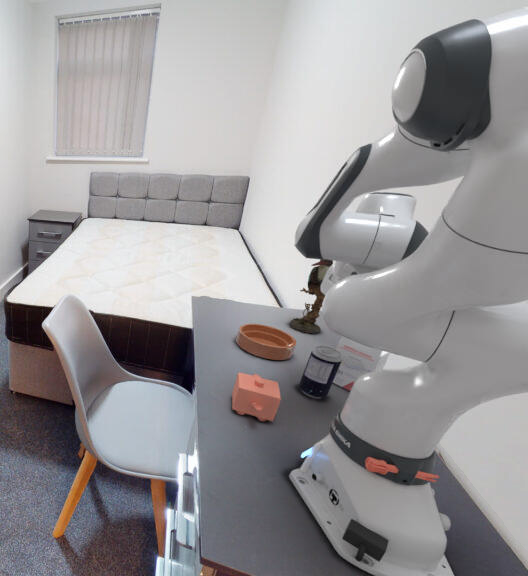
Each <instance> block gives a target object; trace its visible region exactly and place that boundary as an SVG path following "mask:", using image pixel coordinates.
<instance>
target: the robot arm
mask: <svg viewBox="0 0 528 576" xmlns="http://www.w3.org/2000/svg"><path fill="white" fill-rule="evenodd" d="M390 95H391V97H390V98H391V99H390V101H391V110H392V115H393V118H394V121H395V122H396V123H395V125H393V127H392V128H391V129H390V130H389V131H387V132H386V133H385V134H384V135H382V136H381V137H379V138H378V139H376V140H375V141H373V142H371V143H367V144H365V145H362V146H359V147H358V148H357V149H356V150H355V151H354V152H353V153H352V154H351V155H350V156H349V157H348V158H347V160H346V161H345V162H344V163H343V165H342V167H340V168H339V170H338V172H337V173H336V175H335V176H334V177H333V179H332V180H331V181H330V183H329V184H328V186H327V187H326V189H325V190H324V191H323V193H322V194H321V196H320V197H319V198H318V200H317V202H316V203H315V204H314V206H313V207H312V208H311V209H310V211H308V212H307V214H306V215H305V216H304V218H302V220H301V221H300V222H299V224H298V226H297V228H296V231H295V233H294V247H295V249H296V250H297V251H298V252H299V254H301V255H302V256H303V257H304V258H305V259H309V260H311V259H313V260H320V259H321V260H325V259H327V260H333V262H334V263H333V264H332V266H330V267H329V269H328V271H327V273H326V275H325V277H324V279H323V281H322V284H321V292H322V293H323V294H324V295H325V298H324V300H323V304H322V307H321V313H322V319H323V320H324V323H325V325H326V327H327V328H328V329H329V330H330V331H331V332H332V333H335V334H338V335H339V336H341V337H342V336H344V337H346V338H348V339H350V340H353V341H355V342H357V343H360V344H362V345H364V346H368V347H371V348H375V349H378V350H382V351H385V352H389V353H390V354H393V355H396V356H400V357H404V358H407V359H411V360H415V361H417V362H421V363H418V364H416V365H413V366H409V367H403V368H383V369H380V370H375V371H371V372H368V373H366V374H363V375H362V376H360V377H359V378H358V379H357V380H356V381H355V382H354V384H353V387H352V389H351V391H349V393H348V396H347V397H346V400H345V402H344V404H343V407H342V408H341V409H339V410H338V411H337V412H336V415H335V416H334V417H333V418H332V420H331V424H330V427H329V433H328V434H327V435H326V436H324V437H323V438H321V439H320V440H319V441H317V442H316V443H315V444H314V445H313V446H312V447H310V448H309V449H307V450H305V451H303V452H302V453H301V455H300V458H302V459H303V458H305V457H306V458H305V459H304V461H303V463H302V464H301V466H300V467H299V468H295V469H293V470H291V471H290V473H289V474H288V477H289V480H290V482H292V484H293V486H294V487H295V489H296V491H297V492H298V494H299V495H300V497H301V499H302V500H303V501H304V503H305V504H306V506H307V508H308V510H309V511H310V512H311V514H312V516H313V517H314V519H315V520H316V522H317V524H318V525H319V527H321V530H322V531H323V533H324V535H326V538H327V540H328V541H329V542H330V544H331V545H332V547H333V549H334V550H335V551H336V552H337V554H338V555H339V556H340V557H341V558H342V559H344V560H345V561H347V562H348V563H350V564H352V565H353V566H355V567H357V568H359V569H360V570H362V571H364V572H366V573H368V574H371V575H372V576H455V574H454V572H453V570H452V568H451V566H450V563H449V562H448V559H447V557H446V555H445V552H446V549H447V543H448V538H447V535H446V532H448V531H450V529H451V526H452V525H451V524H452V523H451V519H450V517H449V516H448V515H446V514H444V513H441V512H439V510H438V506H437V501H436V498H435V495H436V493H435V489H434V488H433V487H431V483H430V482H433V483H437V480H436V479H440V475H437V474H433V473H434V468H435V466H436V449H437V447H438V445H439V443H440V442H441V440H442V439H443V438H444V436H445V435H446V433H447V432H448V431H449V430H450V428H451V427H452V426H453V425H454V423H455V422H456V421H457V420H458V419H459V418H461V416H463V415H464V414H466V413H467V412H469V411H471V410H473V409H474V408H475V407H479V406H480V405H483V404H486V403H488V402H490V401H493V400H497V399H500V398H504V397H509V396H514V395H520V394H525V393H528V302H526V301H528V5H527V6H526V5H525V6H522V7H519V8H515V9H512V10H509V11H505V12H501V13H499V14H495V15H492V16H488V17H485V18H483V19H480V20H479V19H478V18H477V19H475V18H473V19H468V20H465V21H463V22H460V23H457V24H453V25H451V26H448V27H445V28H443V29H441V30H438V31H436V32H434V33H431V34H430V35H428V36H426V37H424V38H422V39H421V40H420V41H419V42H418V43H417V44H415V45H414V47H413V48H412V49H410V51H409V52H408V53H407V54H406V56H405V57H404V59H403V61H402V62H401V64H400V66H399V68H398V71H397V74H396V76H395V78H394V81H393V84H392V88H391V94H390ZM461 177H463V178H462V179H461V180H460V182H459V183H458V185H457V186H456V188H455V189H454V191H453V192H452V194H451V196H450V197H449V199H448V200H447V202H446V203H445V205H444V207H443V209H442V211H441V212H440V214H439V216H438V218H437V219H436V222H435V223H434V224H433V226H432V228H431V229H430V231H429V230H427V229H426V227H425V226H424V225H423V224H422V223H421V222H420V221H418V220H414V214H415V210H416V205H417V198H416V196H413V195H411V194H407V193H401V192H387V191H385V190H392V189H393V190H394V189H401V188H403V189H404V188H413V187H424V186H432V185H437V184H442V183H446V182H450V181H452V180H457V179H459V178H461ZM380 191H383V192H380ZM363 195H364V196H363ZM360 196H361V197H362V196H363V198H362V199H361V201H360V203H359V205H358V206H357V208H356V210H355V212H352V211H346V210H347V209H348V208H349V206H350V205H351V204H352V203H353V202H354V201H355V200H356V199H357V198H359V197H360Z"/></svg>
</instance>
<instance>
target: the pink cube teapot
mask: <svg viewBox="0 0 528 576" xmlns="http://www.w3.org/2000/svg"><path fill="white" fill-rule="evenodd" d="M231 394H232V396H231V399H232V400H231V402H232V403H231V404H232V406H231V407H232V408H231V409H232V410H233V411H236V413H237V414H238V415H241V416H244V415H250V416H253V417H256V418H257V420H258V421H261V422H266V421H270V422H274V420H275V417H276V414H277V412H278V409H279V407H280V404H281V401H282V397H281V390H280V387H279V382H278V381H275V380H271V379H267V378H263V377H261V375H260V374H257V373H256V374H255V373H253V374H252V375H251V374H247V373H243V372H240V371H238V372H237V375H236V379H235V382H234V386H233V389H232V393H231Z"/></svg>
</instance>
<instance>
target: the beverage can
mask: <svg viewBox="0 0 528 576" xmlns="http://www.w3.org/2000/svg"><path fill="white" fill-rule="evenodd" d="M341 356H342V355H341V353H340V352H338V351H337V350H336V348H332V347H329V346H325V345H317V346H315V348H314V349H312V350H311V352H310V355H309V357H308V359H307V362H306V364H305V368H304V371H303V373H302V375H301V378H300V381H299V384H298V388H299V389H300V390H301V392H302V393H303V394H304V395H306V396H307V397H309V398H313V399H322V398H326V397H327V396H328V395H329V393H330V390H331V388H332V385H333V384H334V383H333V381H334V378H335V376H336V374H337V371H338V369H339V367H340V364H341V362H342V359H341Z"/></svg>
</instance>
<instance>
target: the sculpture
mask: <svg viewBox="0 0 528 576" xmlns="http://www.w3.org/2000/svg"><path fill="white" fill-rule="evenodd" d="M332 265H334V261H333V260H327V259H325V260H321V259H319V261H318V262H315V263H312V264H311V265H310V266H311V267H313V268H312V269H311V271H310V273H309V275H308V279H307V289H306V288H305V287H303V288H302V289H300V290H299V292H302V293H303V292H304V293H305V294H308V295H312V296H314V295H315V297H316V298H315V300H314V301H313V302H314V303H307V302H304V306H305V308H304V310H303V312H302V315H303V316H302V317H299V318H298V317H296V318H293V319H291V320H290V322H289V323H288V325H289V326H290V327H292V328H293V329H294V330H297V331H299V332H303V333H306V334H311V335H314V334H318V333H320V332H321V327H320V326H319V325H318V324H316V322H317V319H318V318H320V316H321V315H320V311H321V310H322V304H323V300H324V298H325V295H324V294H323V293H322V292H321V284H322V281H323V279H324V277H325V275H326V273H327V271H328V269H329V267H330V266H332ZM310 309H311V310H310ZM305 311H307V312H306V314H305Z"/></svg>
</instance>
